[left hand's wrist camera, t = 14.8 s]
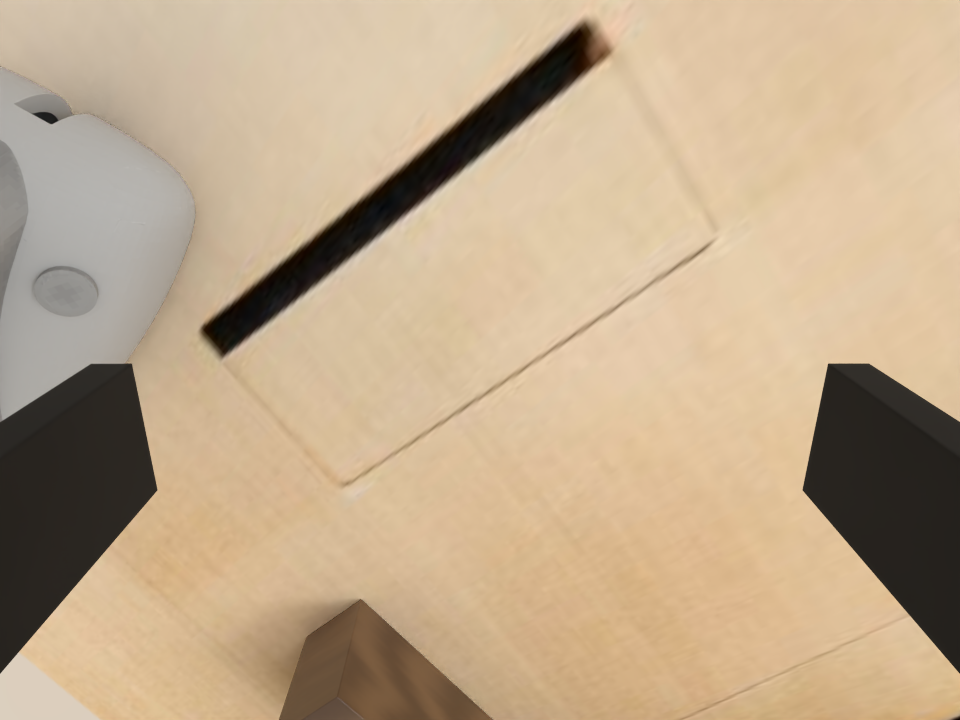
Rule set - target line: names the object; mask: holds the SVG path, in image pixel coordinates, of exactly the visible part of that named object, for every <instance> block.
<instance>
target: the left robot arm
mask: <svg viewBox="0 0 960 720" xmlns="http://www.w3.org/2000/svg"><path fill="white" fill-rule="evenodd" d="M156 491H157V486H156V481H155V476H154V471H153V466H152V461H151V456H150V451H149V446H148V441H147V436H146V431H145V427H144V422H143V417H142V412H141V407H140V402H139V397H138V392H137V387H136V382H135V377H134V372H133V367H132V364H90V365H88V366H87V367H85V368H84V369H82V370H81V371H79V372H77V373H76V374H74V375H73V376H71V377H70V378H68V379H67V380H65V381H63V382H62V383H60V384H59V385H57V386H56V387H54V388H52V389H51V390H49V391H48V392H46V393H45V394H43V395H42V396H40V397H38V398H37V399H35V400H34V401H32V402H31V403H29V404H28V405H26V406H24V407H23V408H21V409H20V410H18V411H17V412H15V413H14V414H12V415H10V416H9V417H7V418H6V419H4V420H3V421H1V422H0V673H1V672H2V671H3V670H4V668H5V667H6V666H7V665H8V664H9V663H10V662H11V660H12V659H13V658H14V657H15V656H16V655H17V653H18V652H19V651H20V650H21V649H22V648H23V646H24V645H25V644H26V643H27V642H28V641H29V639H30V638H31V637H32V636H33V635H34V634H35V632H36V631H37V630H38V629H39V628H40V627H41V625H42V624H43V623H44V622H45V621H46V620H47V618H48V617H49V616H50V615H51V614H52V613H53V611H54V610H55V609H56V608H57V607H58V606H59V604H60V603H61V602H62V601H63V600H64V599H65V597H66V596H67V595H68V594H69V593H70V592H71V590H72V589H73V588H74V587H75V586H76V585H77V583H78V582H79V581H80V580H81V579H82V578H83V576H84V575H85V574H86V573H87V572H88V571H89V569H90V568H91V567H92V566H93V565H94V564H95V562H96V561H97V560H98V559H99V558H100V557H101V555H102V554H103V553H104V552H105V551H106V550H107V548H108V547H109V546H110V545H111V544H112V543H113V541H114V540H115V539H116V538H117V537H118V536H119V534H120V533H121V532H122V531H123V530H124V529H125V527H126V526H127V525H128V524H129V523H130V522H131V520H132V519H133V518H134V517H135V516H136V515H137V513H138V512H139V511H140V510H141V509H142V508H143V506H144V505H145V504H146V503H147V502H148V501H149V499H150V498H151V497H152V496H153V495H154V494H155V492H156ZM803 491H804V492H805V494H806V495H807V496H808V497H809V498H810V499H811V501H812V502H813V503H814V504H815V505H816V506H817V508H818V509H819V510H820V511H821V512H822V513H823V515H824V516H825V517H826V518H827V519H828V520H829V522H830V523H831V524H832V525H833V526H834V527H835V529H836V530H837V531H838V532H839V533H840V534H841V536H842V537H843V538H844V539H845V540H846V541H847V543H848V544H849V545H850V546H851V547H852V548H853V550H854V551H855V552H856V553H857V554H858V555H859V557H860V558H861V559H862V560H863V561H864V562H865V564H866V565H867V566H868V567H869V568H870V569H871V571H872V572H873V573H874V574H875V575H876V576H877V578H878V579H879V580H880V581H881V582H882V583H883V585H884V586H885V587H886V588H887V589H888V590H889V592H890V593H891V594H892V595H893V596H894V597H895V599H896V600H897V601H898V602H899V603H900V604H901V606H902V607H903V608H904V609H905V610H906V611H907V613H908V614H909V615H910V616H911V617H912V618H913V620H914V621H915V622H916V623H917V624H918V625H919V627H920V628H921V629H922V630H923V631H924V632H925V634H926V635H927V636H928V637H929V638H930V639H931V641H932V642H933V643H934V644H935V645H936V646H937V648H938V649H939V650H940V651H941V652H942V653H943V655H944V656H945V657H946V658H947V659H948V660H949V662H950V663H951V664H952V665H953V666H954V667H955V669H956V670H957V671H958V672H959V673H960V422H959V421H957V420H956V419H954V418H953V417H951V416H950V415H948V414H946V413H945V412H943V411H942V410H940V409H939V408H937V407H936V406H934V405H932V404H931V403H929V402H928V401H926V400H925V399H923V398H922V397H920V396H918V395H917V394H915V393H914V392H912V391H911V390H909V389H908V388H906V387H904V386H903V385H901V384H900V383H898V382H897V381H895V380H893V379H892V378H890V377H889V376H887V375H886V374H884V373H883V372H881V371H879V370H878V369H876V368H875V367H873V366H872V365H870V364H828V367H827V372H826V377H825V382H824V387H823V392H822V397H821V402H820V407H819V412H818V417H817V422H816V427H815V431H814V436H813V441H812V446H811V451H810V456H809V461H808V466H807V471H806V476H805V481H804V486H803Z"/></svg>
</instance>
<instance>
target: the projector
mask: <svg viewBox="0 0 960 720" xmlns="http://www.w3.org/2000/svg"><path fill="white" fill-rule="evenodd" d="M194 222H195V202H194V198H193V195H192V193H191V190H190V188H189V187H188V185H187V184H186V182H185V180H184V179H183V178H182V176H181V175H180V174H179V173H178V172H177V171H176V170H175V169H174V168H173V167H172V166H171V165H170V164H169V163H168V162H166V161H165V160H164V159H163V158H161V157H160V156H158V155H157V154H156V153H154V152H153V151H152V150H150V149H149V148H147V147H146V146H144V145H143V144H141V143H140V142H138V141H137V140H135V139H134V138H132V137H130V136H129V135H127V134H125V133H124V132H122V131H120V130H119V129H117V128H115V127H114V126H112V125H110V124H108V123H107V122H105V121H103V120H101V119H100V118H98V117H96V116H94V115H90V114H78V115H72V112H71V109H70V107H69V105H68V103H67V102H66V101H65V100H64V99H63V98H62V97H60V96H59V95H57V94H55V93H53V92H51V91H50V90H48V89H46V88H44V87H42V86H40V85H38V84H37V83H35V82H33V81H31V80H29V79H27V78H25V77H23V76H21V75H19V74H17V73H15V72H13V71H10V70H8V69H6V68H4V67H1V66H0V422H1V421H3V420H4V419H6V418H7V417H9V416H10V415H12V414H14V413H15V412H17V411H18V410H20V409H21V408H23V407H24V406H26V405H28V404H29V403H31V402H32V401H34V400H35V399H37V398H38V397H40V396H42V395H43V394H45V393H46V392H48V391H49V390H51V389H52V388H54V387H56V386H57V385H59V384H60V383H62V382H63V381H65V380H67V379H68V378H70V377H71V376H73V375H74V374H76V373H77V372H79V371H81V370H82V369H84V368H85V367H87V366H88V365H90V364H125V363H126V361H127V360H128V359H129V357H130V356H131V354H132V353H133V351H134V350H135V349H136V347H137V346H138V344H139V343H140V341H141V340H142V338H143V336H144V335H145V333H146V332H147V330H148V328H149V327H150V325H151V323H152V322H153V320H154V318H155V316H156V315H157V313H158V311H159V309H160V307H161V306H162V304H163V302H164V300H165V298H166V296H167V294H168V292H169V290H170V288H171V286H172V284H173V282H174V279H175V277H176V275H177V272H178V270H179V268H180V266H181V263H182V261H183V258H184V256H185V253H186V250H187V248H188V245H189V242H190V238H191V235H192V231H193V227H194Z"/></svg>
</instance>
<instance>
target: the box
mask: <svg viewBox="0 0 960 720" xmlns="http://www.w3.org/2000/svg"><path fill="white" fill-rule="evenodd" d="M279 720H492V719H491V718H490V717H489V716H488V715H487V714H486V713H485V712H483V711H482V710H481V709H480V708H479V707H478V706H477V705H476V704H475V703H474V702H473V701H471V700H470V699H469V698H468V697H467V696H466V695H465V694H464V693H463V692H462V691H461V690H459V689H458V688H457V687H456V686H455V685H454V684H453V683H452V682H451V681H450V680H449V679H447V678H446V677H445V676H444V675H443V674H442V673H441V672H440V671H439V670H438V669H437V668H435V667H434V666H433V665H432V664H431V663H430V662H429V661H428V660H427V659H426V658H425V657H424V656H422V655H421V654H420V653H419V652H418V651H417V650H416V649H415V648H414V647H413V646H412V645H410V644H409V643H408V642H407V641H406V640H405V639H404V638H403V637H402V636H401V635H400V634H398V633H397V632H396V631H395V630H394V629H393V628H392V627H391V626H390V625H389V624H388V623H386V622H385V621H384V620H383V619H382V618H381V617H380V616H379V615H378V614H377V613H376V612H374V611H373V610H372V609H371V608H370V607H369V606H368V605H367V604H366V603H365V602H364V601H362V600H360V601H358V602H357V603H355V604H354V605H352V606H351V607H350V608H348V609H347V610H345V611H344V612H342V613H341V614H339V615H338V616H337V617H335V618H334V619H332V620H331V621H329V622H328V623H326V624H325V625H324V626H322V627H321V628H319V629H318V630H316V631H315V632H313V633H312V634H311V635H309V636H308V637H307V638H306V640H305V643H304V646H303V649H302V652H301V655H300V658H299V661H298V664H297V667H296V670H295V673H294V676H293V679H292V682H291V685H290V688H289V691H288V694H287V697H286V700H285V703H284V706H283V709H282V712H281V715H280V718H279Z"/></svg>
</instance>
